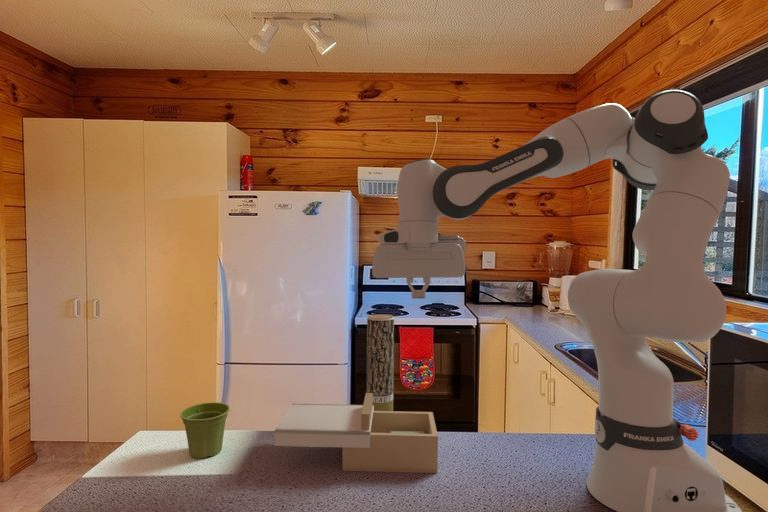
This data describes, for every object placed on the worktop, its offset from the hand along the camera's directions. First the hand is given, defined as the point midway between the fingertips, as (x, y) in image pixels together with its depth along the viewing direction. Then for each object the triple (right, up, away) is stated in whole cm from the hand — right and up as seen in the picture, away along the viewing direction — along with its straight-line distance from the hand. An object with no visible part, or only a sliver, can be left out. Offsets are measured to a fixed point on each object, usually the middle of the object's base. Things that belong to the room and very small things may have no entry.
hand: (418, 298), depth 95 cm
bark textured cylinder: (-9, -31, +15) cm, 36 cm away
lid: (-19, -26, -7) cm, 33 cm away
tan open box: (-6, -31, -7) cm, 33 cm away
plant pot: (-44, -31, -6) cm, 55 cm away
